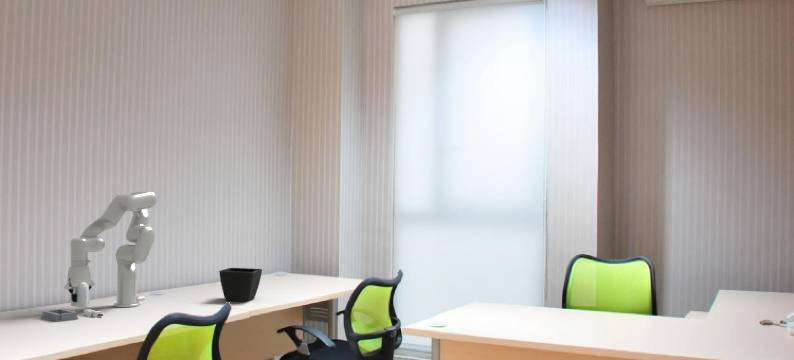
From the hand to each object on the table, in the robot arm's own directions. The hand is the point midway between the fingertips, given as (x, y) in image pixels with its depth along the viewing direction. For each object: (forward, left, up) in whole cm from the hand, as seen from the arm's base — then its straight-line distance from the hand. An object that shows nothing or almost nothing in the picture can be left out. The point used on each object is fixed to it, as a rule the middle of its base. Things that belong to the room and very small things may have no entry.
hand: (79, 300), depth 352 cm
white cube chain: (0, +13, -6) cm, 14 cm away
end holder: (+14, +9, -6) cm, 18 cm away
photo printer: (0, 0, -3) cm, 3 cm away
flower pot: (-81, +21, -6) cm, 84 cm away
